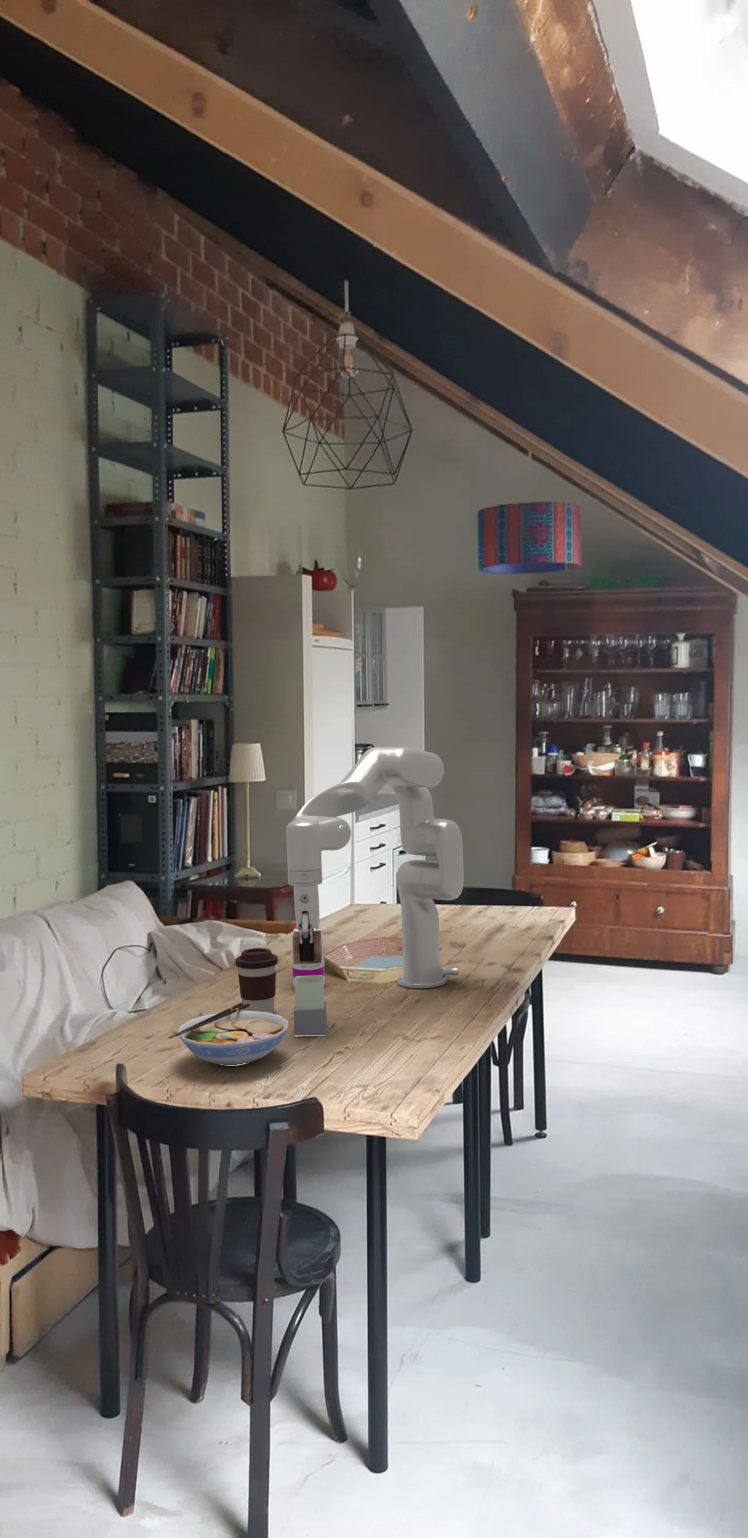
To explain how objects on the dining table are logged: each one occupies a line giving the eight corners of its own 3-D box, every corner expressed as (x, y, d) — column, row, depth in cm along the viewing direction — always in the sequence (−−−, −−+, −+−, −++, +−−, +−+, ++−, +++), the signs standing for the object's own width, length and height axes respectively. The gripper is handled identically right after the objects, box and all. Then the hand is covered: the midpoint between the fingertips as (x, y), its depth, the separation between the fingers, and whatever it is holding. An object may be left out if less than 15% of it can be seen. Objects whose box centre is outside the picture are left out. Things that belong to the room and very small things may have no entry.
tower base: (327, 1026, 254) (326, 1000, 253) (326, 1036, 247) (325, 1009, 246) (296, 1028, 254) (295, 1001, 253) (294, 1037, 247) (293, 1010, 246)
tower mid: (324, 1001, 253) (323, 975, 253) (323, 1009, 247) (322, 982, 247) (296, 1002, 253) (295, 976, 253) (295, 1010, 247) (294, 983, 246)
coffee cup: (286, 1008, 269) (283, 947, 268) (269, 1020, 260) (266, 956, 259) (248, 1006, 272) (246, 945, 271) (230, 1018, 263) (227, 954, 262)
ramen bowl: (240, 1089, 216) (238, 1047, 215) (151, 1071, 228) (149, 1031, 227) (315, 1051, 237) (313, 1013, 236) (230, 1036, 249) (228, 1000, 248)
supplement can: (320, 991, 283) (318, 932, 282) (289, 991, 285) (287, 932, 284) (328, 983, 291) (326, 926, 290) (297, 982, 293) (295, 925, 292)
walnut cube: (321, 956, 252) (320, 930, 252) (321, 963, 246) (320, 936, 246) (295, 957, 252) (294, 931, 252) (293, 964, 246) (292, 937, 246)
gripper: (320, 882, 239) (323, 966, 240) (323, 870, 256) (325, 948, 258) (285, 884, 239) (288, 967, 240) (290, 871, 256) (293, 949, 258)
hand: (307, 956), depth 249 cm, fingers closed on walnut cube, 6 cm apart
